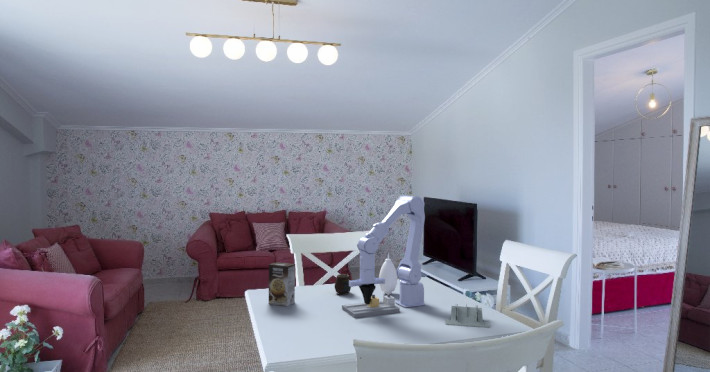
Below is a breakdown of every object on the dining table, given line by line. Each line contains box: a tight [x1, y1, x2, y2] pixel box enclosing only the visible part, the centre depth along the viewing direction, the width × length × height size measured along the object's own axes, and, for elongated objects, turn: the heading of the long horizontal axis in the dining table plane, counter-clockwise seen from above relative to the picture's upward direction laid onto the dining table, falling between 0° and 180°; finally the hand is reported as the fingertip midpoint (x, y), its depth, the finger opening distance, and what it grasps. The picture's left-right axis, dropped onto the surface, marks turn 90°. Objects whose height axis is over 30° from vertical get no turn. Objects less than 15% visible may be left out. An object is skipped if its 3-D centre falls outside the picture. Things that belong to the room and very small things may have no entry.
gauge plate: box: [341, 293, 401, 319], centre depth 186 cm, size 19×12×6 cm, turn 114°
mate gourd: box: [334, 272, 352, 295], centre depth 211 cm, size 7×8×10 cm
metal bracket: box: [444, 303, 490, 329], centre depth 174 cm, size 14×6×15 cm
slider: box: [368, 294, 380, 307], centre depth 186 cm, size 3×4×4 cm
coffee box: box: [268, 261, 296, 307], centre depth 195 cm, size 9×6×16 cm
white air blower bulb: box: [378, 252, 398, 295], centre depth 211 cm, size 8×8×18 cm
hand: (367, 303), depth 185 cm, fingers closed
